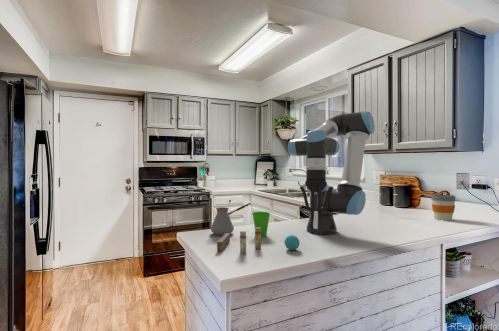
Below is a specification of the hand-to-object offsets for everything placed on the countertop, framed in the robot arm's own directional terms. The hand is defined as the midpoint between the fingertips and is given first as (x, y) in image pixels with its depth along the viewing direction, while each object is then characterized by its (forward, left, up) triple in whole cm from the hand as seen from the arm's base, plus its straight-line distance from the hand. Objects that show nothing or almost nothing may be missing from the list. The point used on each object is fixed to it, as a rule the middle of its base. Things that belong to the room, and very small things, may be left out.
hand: (315, 227), depth 113 cm
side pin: (+28, +7, -9) cm, 31 cm away
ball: (+9, 0, -6) cm, 11 cm away
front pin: (+23, 0, -9) cm, 25 cm away
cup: (+24, -21, -10) cm, 34 cm away
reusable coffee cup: (-84, -76, -10) cm, 114 cm away
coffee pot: (+39, -23, -10) cm, 47 cm away
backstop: (+38, 0, -9) cm, 39 cm away
